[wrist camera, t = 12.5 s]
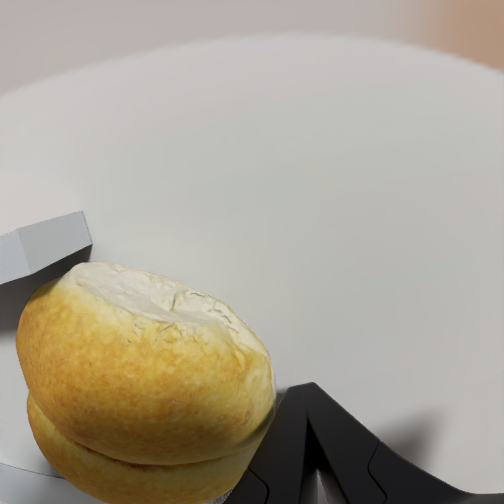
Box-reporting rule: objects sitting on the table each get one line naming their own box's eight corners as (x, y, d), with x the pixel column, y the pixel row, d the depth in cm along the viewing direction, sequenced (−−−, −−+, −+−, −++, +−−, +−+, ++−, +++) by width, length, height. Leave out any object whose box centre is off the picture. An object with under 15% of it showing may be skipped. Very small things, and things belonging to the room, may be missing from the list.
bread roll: (52, 424, 11) (11, 483, 7) (52, 230, 9) (-38, 265, 5) (229, 486, 11) (223, 561, 7) (312, 314, 9) (345, 404, 5)
